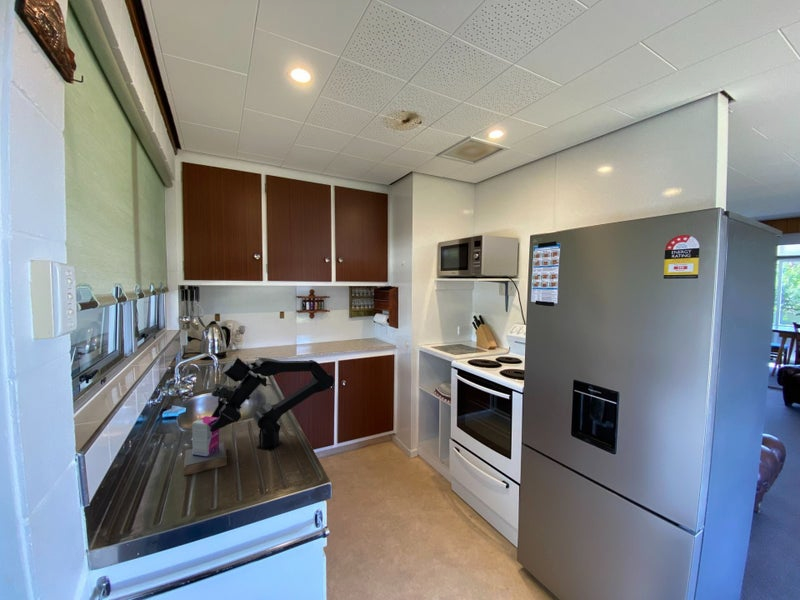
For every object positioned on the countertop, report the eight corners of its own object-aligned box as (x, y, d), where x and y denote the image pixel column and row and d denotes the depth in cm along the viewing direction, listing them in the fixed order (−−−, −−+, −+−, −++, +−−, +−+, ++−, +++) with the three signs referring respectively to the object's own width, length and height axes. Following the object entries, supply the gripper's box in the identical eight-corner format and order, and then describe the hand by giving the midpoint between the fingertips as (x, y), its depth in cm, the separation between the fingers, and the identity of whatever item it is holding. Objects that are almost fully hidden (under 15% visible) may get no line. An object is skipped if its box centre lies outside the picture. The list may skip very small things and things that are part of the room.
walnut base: (224, 449, 121) (224, 441, 121) (227, 465, 111) (226, 456, 111) (185, 458, 115) (185, 449, 115) (184, 475, 105) (183, 466, 104)
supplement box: (207, 458, 109) (206, 424, 109) (192, 456, 111) (191, 422, 110) (220, 449, 115) (219, 417, 114) (205, 447, 116) (204, 415, 116)
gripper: (224, 369, 123) (190, 404, 118) (228, 382, 107) (189, 423, 102) (248, 386, 127) (216, 420, 122) (255, 402, 111) (219, 442, 106)
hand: (210, 426), depth 113 cm, fingers open, 9 cm apart
